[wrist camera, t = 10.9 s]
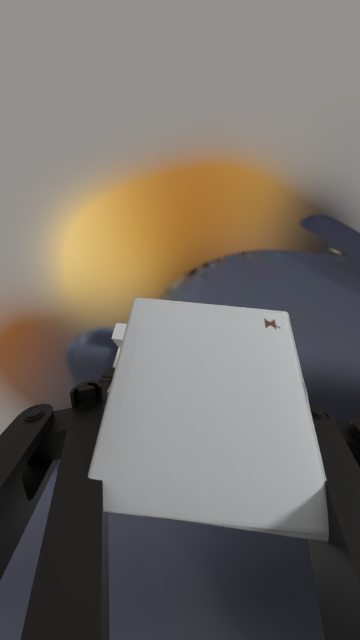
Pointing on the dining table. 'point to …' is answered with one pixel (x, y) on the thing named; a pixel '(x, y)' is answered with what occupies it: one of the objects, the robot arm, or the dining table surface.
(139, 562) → the dining table surface
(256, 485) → the supplement box
